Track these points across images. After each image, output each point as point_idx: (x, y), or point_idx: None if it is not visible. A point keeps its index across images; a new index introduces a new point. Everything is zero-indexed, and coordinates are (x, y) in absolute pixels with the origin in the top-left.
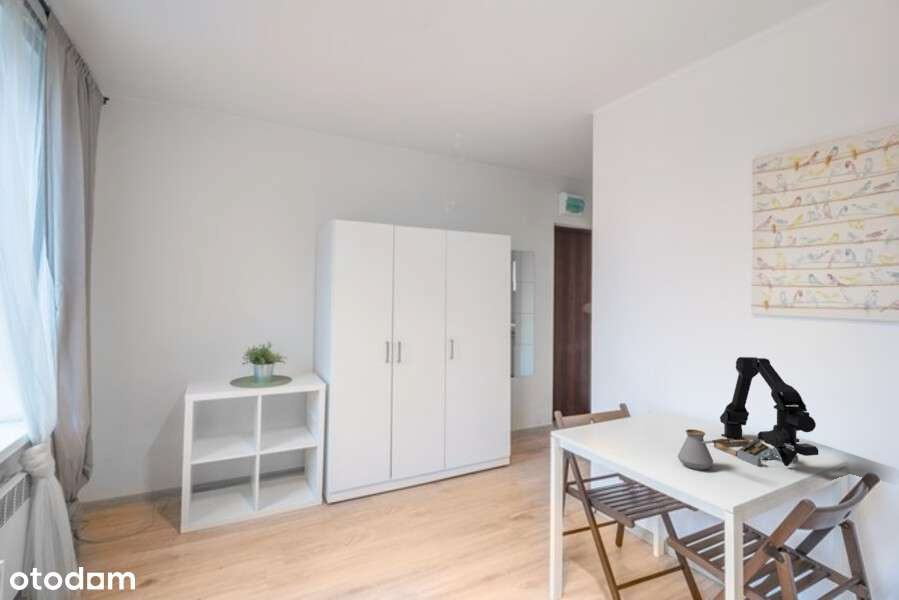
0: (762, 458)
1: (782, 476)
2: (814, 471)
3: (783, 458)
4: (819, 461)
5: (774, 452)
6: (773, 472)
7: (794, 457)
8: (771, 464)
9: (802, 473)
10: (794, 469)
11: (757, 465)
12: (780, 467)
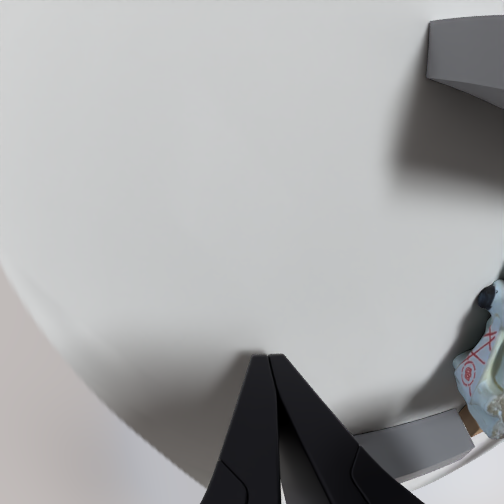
0: (497, 298)
1: (27, 37)
2: (158, 447)
3: (299, 432)
4: (283, 501)
5: (454, 428)
6: (176, 15)
7: None
8: (405, 282)
9: (109, 365)
10: (216, 382)
11: (441, 22)
12: (306, 304)
